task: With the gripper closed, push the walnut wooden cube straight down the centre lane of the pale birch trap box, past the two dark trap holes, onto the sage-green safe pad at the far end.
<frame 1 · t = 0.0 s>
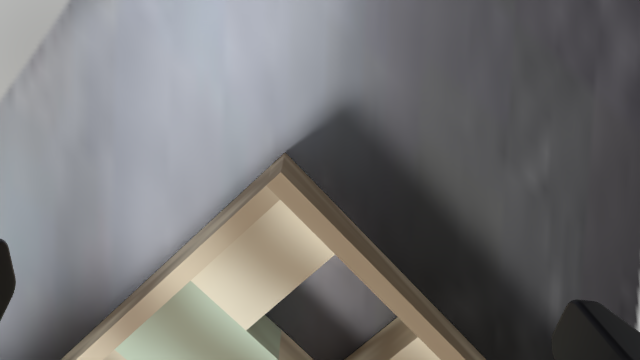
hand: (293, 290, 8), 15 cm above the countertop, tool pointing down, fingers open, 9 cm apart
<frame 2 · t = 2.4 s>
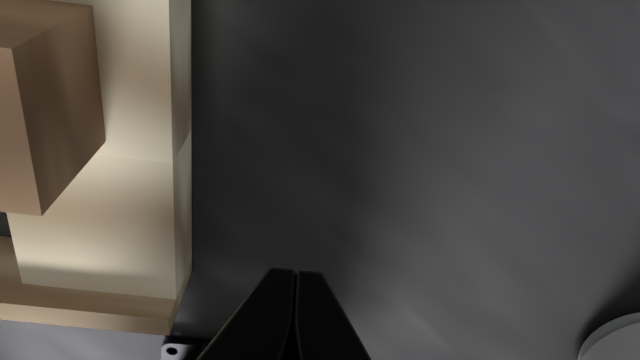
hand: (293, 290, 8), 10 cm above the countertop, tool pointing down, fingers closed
walnut block: (27, 69, 14), point 2 cm above the countertop, touching trap box
energy drink can: (631, 347, 23), on the countertop
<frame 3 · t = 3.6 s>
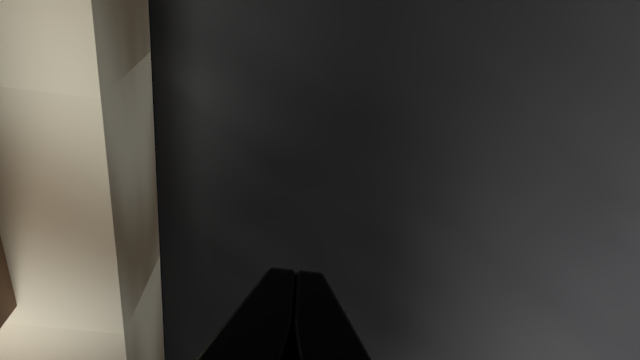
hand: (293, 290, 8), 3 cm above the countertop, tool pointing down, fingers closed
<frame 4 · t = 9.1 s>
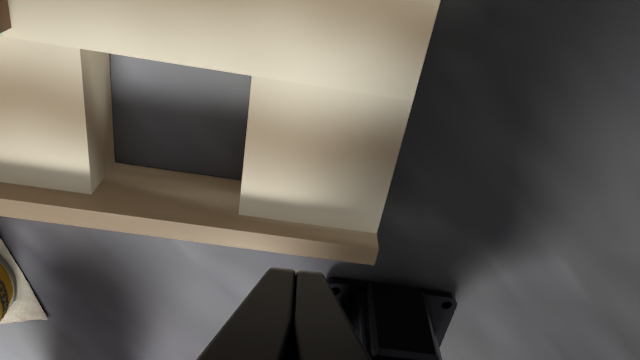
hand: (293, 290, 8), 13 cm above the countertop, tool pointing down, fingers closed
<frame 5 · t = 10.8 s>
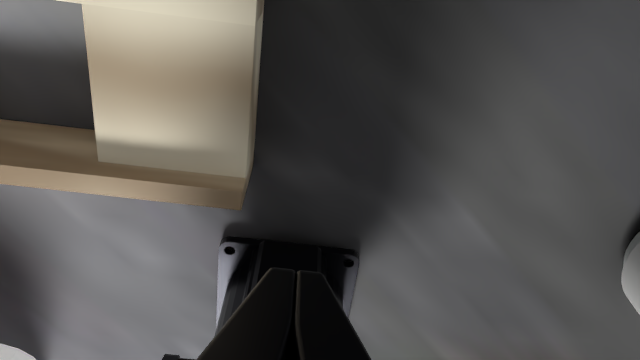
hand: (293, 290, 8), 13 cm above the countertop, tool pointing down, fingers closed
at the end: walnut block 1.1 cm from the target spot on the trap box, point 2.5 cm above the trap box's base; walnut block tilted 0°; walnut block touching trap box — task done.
